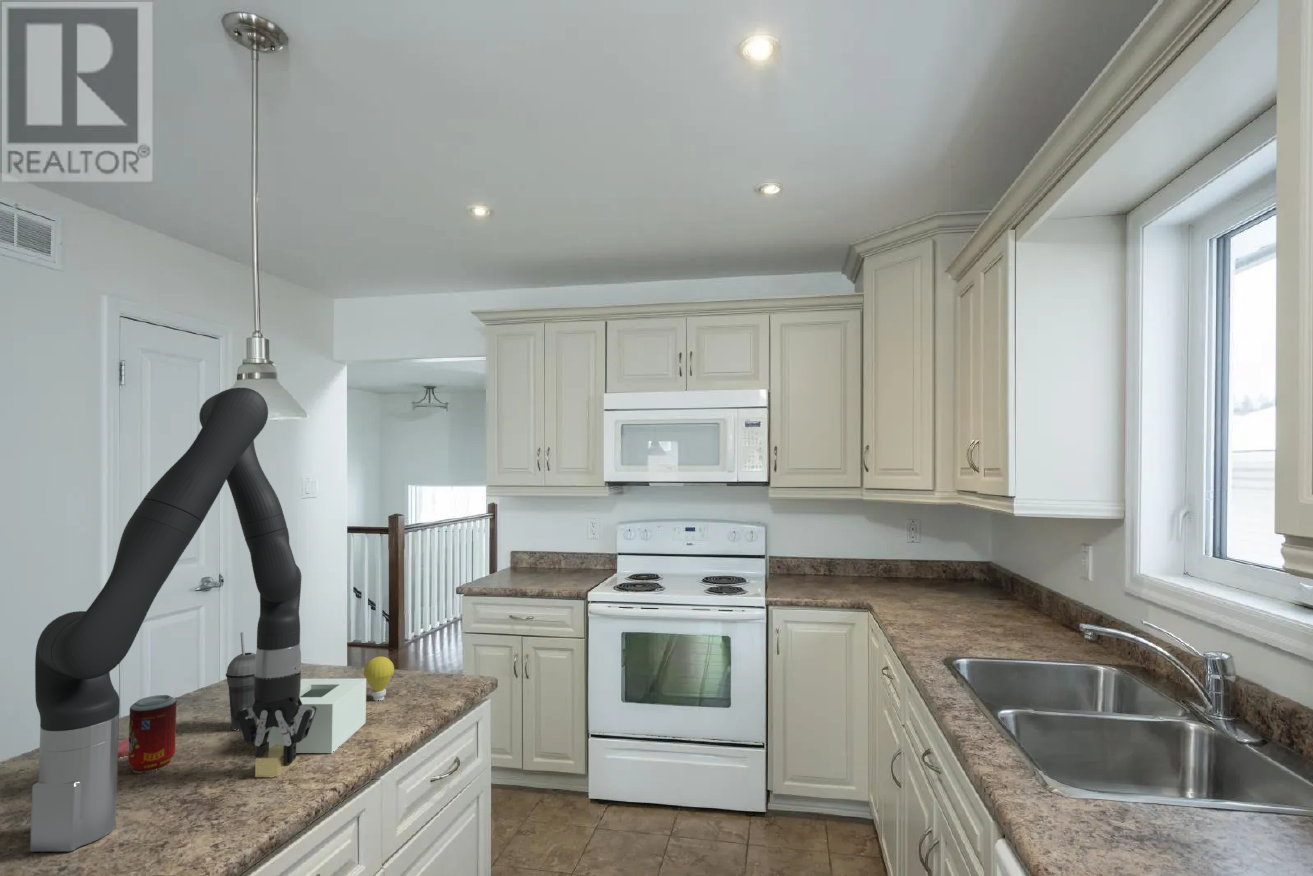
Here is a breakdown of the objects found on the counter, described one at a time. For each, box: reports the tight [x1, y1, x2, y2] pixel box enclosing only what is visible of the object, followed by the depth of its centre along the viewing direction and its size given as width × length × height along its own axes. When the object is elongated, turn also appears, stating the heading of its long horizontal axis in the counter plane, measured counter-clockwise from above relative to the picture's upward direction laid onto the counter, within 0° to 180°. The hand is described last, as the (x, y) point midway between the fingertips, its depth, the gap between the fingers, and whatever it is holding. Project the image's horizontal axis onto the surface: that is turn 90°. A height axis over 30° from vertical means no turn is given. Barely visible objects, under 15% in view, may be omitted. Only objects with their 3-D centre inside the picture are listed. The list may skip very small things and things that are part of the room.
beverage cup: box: [225, 631, 258, 730], centre depth 147 cm, size 7×7×20 cm
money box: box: [267, 677, 367, 754], centre depth 141 cm, size 16×14×10 cm
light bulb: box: [363, 656, 395, 702], centre depth 164 cm, size 7×7×10 cm
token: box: [254, 745, 296, 778], centre depth 126 cm, size 6×4×4 cm, turn 0°
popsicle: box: [118, 736, 129, 759], centre depth 138 cm, size 5×2×15 cm
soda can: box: [127, 694, 178, 774], centre depth 127 cm, size 7×7×12 cm
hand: (276, 764), depth 126 cm, fingers closed on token, 4 cm apart
